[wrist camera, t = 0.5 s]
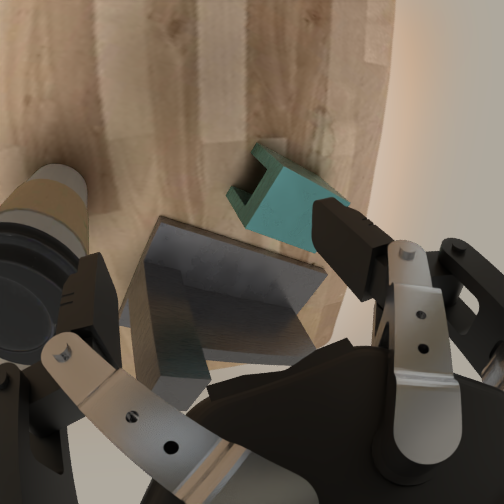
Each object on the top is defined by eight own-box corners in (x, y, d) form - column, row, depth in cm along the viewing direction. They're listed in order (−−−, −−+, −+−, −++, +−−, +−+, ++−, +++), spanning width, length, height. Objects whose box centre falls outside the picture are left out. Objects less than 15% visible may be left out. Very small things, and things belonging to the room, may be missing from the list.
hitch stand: (159, 215, 29) (185, 334, 18) (323, 268, 41) (385, 352, 30) (117, 317, 34) (128, 430, 24) (266, 341, 46) (306, 423, 36)
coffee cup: (110, 234, 28) (111, 369, 17) (22, 243, 25) (-16, 373, 14) (103, 136, 23) (74, 235, 12) (2, 150, 20) (-84, 255, 8)
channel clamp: (225, 195, 30) (245, 228, 26) (256, 142, 28) (283, 166, 23) (288, 220, 35) (314, 253, 30) (318, 175, 32) (350, 203, 28)
